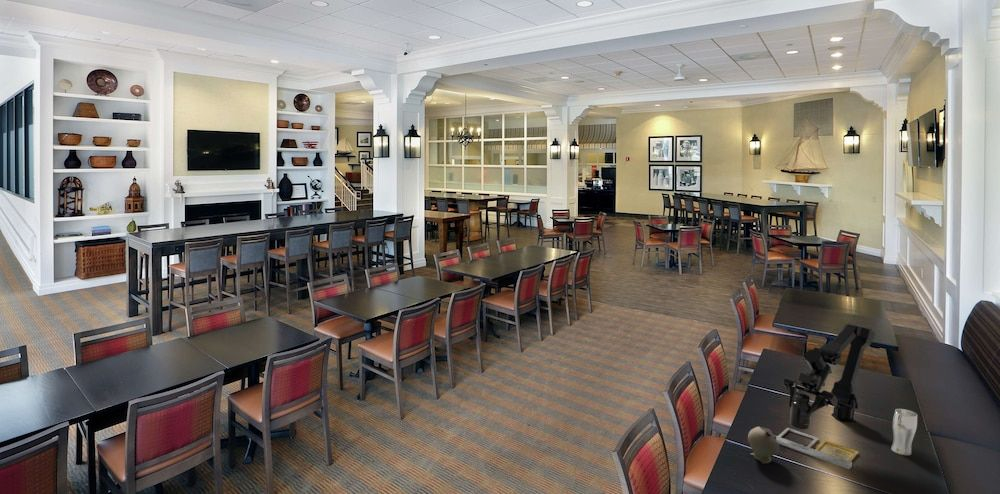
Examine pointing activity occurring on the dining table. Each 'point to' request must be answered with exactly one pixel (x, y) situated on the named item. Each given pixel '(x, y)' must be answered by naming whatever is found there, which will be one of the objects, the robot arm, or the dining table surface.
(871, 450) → the dining table surface
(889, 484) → the dining table surface
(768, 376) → the dining table surface
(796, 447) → the tray
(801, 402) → the supplement bottle
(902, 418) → the beer glass
